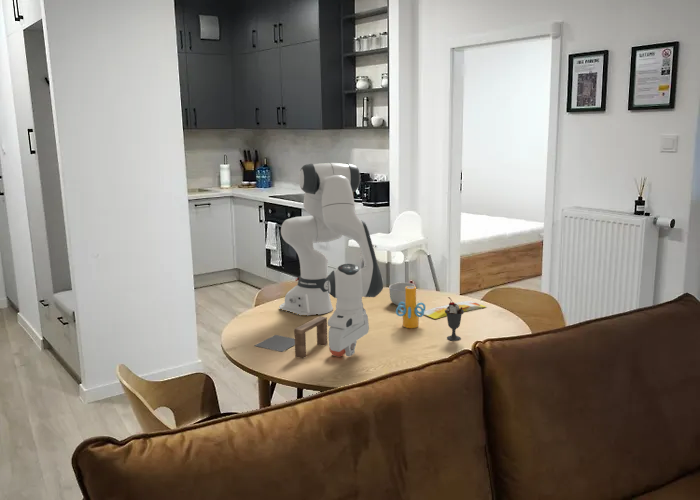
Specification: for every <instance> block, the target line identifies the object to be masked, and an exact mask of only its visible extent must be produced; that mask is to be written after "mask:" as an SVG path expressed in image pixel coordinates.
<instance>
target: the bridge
mask: <svg viewBox="0 0 700 500" xmlns="http://www.w3.org/2000/svg"><path fill="white" fill-rule="evenodd" d="M314 328H316V343H317V345H318V346H323V347H325V346H327V345H329V341H328V318H327V317H326V316H321V315H320V316H317V317H315V318H313V319H312V320H309V321H307V322H305V323H303V324H301V325H300V326H298V327H296V328H294V330H293V331H294V339H295V345H294V357H295V358H297V359H298V358H299V359H304V358H306V357H307V343H306V341H307V339H306V338H307V337H306V333H307V332H308V331H310V330H312V329H314Z"/></svg>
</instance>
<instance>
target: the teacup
mask: <svg viewBox="0 0 700 500" xmlns="http://www.w3.org/2000/svg"><path fill="white" fill-rule="evenodd" d="M407 286H415V287H416V285H415V284H414V283H412V282H399V281H397V282H395V283H393V284H389V287H388V289H389V298H390V301H391V302H392V303H393V304H394V305H396V306H398V304H399V303H400V302H404V303H405V287H407ZM401 305H403V306H404V304H401Z"/></svg>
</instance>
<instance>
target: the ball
mask: <svg viewBox="0 0 700 500" xmlns="http://www.w3.org/2000/svg"><path fill="white" fill-rule="evenodd" d="M328 349H329V352H330V353H331V355H332V356H335V357H342V356H344V355H346V351H345V349H343V350H341V351H340V352H337V351H332V350H331V349H330V348H329V347H328Z"/></svg>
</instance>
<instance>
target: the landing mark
mask: <svg viewBox="0 0 700 500" xmlns="http://www.w3.org/2000/svg"><path fill="white" fill-rule="evenodd" d="M254 347H258V348H261V349H267V350H271V351H275V352H281V353H283V352H285V351H287V350H288V349H290V348H292V347H295V337H294V338H293V337H290V336H289V337H288V336H283V335H280V334H279V335H278V334H274V335H272V336H270V337H269V338H266V339H264V340H262V341H260V342H259V343H257V344H254Z"/></svg>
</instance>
